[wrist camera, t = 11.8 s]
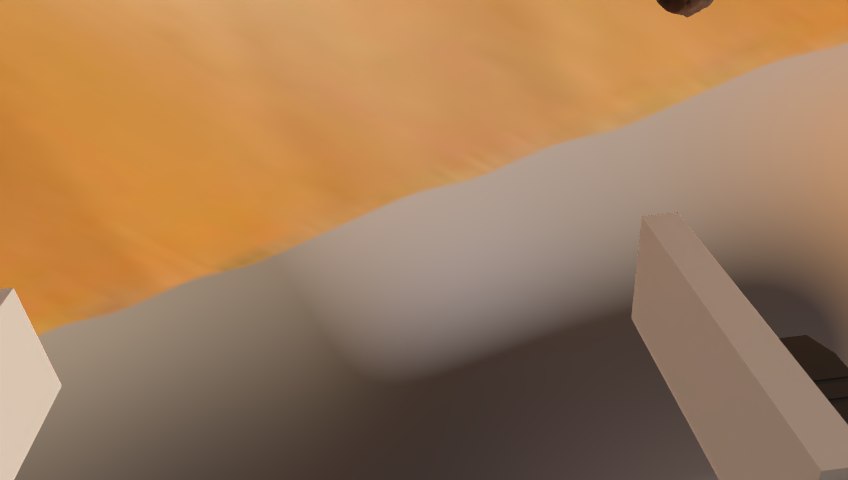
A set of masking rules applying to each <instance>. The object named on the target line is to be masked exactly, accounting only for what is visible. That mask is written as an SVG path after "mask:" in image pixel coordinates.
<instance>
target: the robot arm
mask: <svg viewBox="0 0 848 480" xmlns="http://www.w3.org/2000/svg"><path fill="white" fill-rule="evenodd" d="M632 320H633V322H634V324H635V326H636V327H637V329H638V331H639V333H640V335H641V337H642V339H643V341H644V342H645V344H646V346H647V348H648V350H649V352H650V353H651V355H652V357H653V359H654V361H655V362H656V364H657V366H658V368H659V370H660V372H661V374H662V375H663V377H664V379H665V381H666V383H667V385H668V387H669V388H670V390H671V392H672V394H673V396H674V397H675V399H676V401H677V403H678V405H679V407H680V409H681V410H682V412H683V414H684V416H685V418H686V420H687V422H688V423H689V425H690V427H691V429H692V431H693V432H694V434H695V436H696V438H697V440H698V442H699V444H700V445H701V447H702V449H703V451H704V453H705V455H706V456H707V458H708V460H709V462H710V464H711V466H712V467H713V469H714V471H715V473H716V475H717V477H718V478H719V480H848V368H847V366H846V365H845V364H844V363H843V362H842V361H841V360H840V358H839V357H838V356H837V355H836V354H835V353H834V352H832V351H831V350H829V349H827V348H826V347H824V346H823V345H821V344H819V343H818V342H816V341H815V340H813V339H812V338H810V337H809V336H807V335H803V336H794V337H786V338H778V337H777V336H776V335H775V333H774V332H773V331H772V330H771V328H770V327H769V326H768V325H767V323H766V322H765V321H764V320H763V318H762V317H761V316H760V315H759V313H758V312H757V311H756V310H755V308H754V307H753V306H752V305H751V303H750V302H749V301H748V300H747V298H746V297H745V296H744V295H743V293H742V292H741V291H740V290H739V288H738V287H737V286H736V285H735V284H734V282H733V281H732V280H731V278H730V277H729V276H728V275H727V273H726V272H725V271H724V270H723V268H722V267H721V266H720V265H719V263H718V262H717V261H716V260H715V258H714V257H713V256H712V255H711V254H710V252H709V251H708V250H707V248H706V247H705V246H704V245H703V243H702V242H701V241H700V240H699V238H698V237H697V236H696V235H695V233H694V232H693V231H692V230H691V228H690V227H689V226H688V225H687V223H686V222H685V221H684V220H683V218H682V217H681V216H680V215H679V213H678V212H676V213H666V214H657V215H649V216H642V220H641V230H640V240H639V251H638V260H637V270H636V279H635V289H634V299H633V309H632ZM60 388H61V383H60V382H59V379H58V377H57V375H56V373H55V371H54V369H53V367H52V366H51V363H50V361H49V359H48V358H47V355H46V353H45V351H44V349H43V347H42V345H41V343H40V341H39V339H38V337H37V335H36V333H35V331H34V329H33V327H32V325H31V322H30V320H29V318H28V316H27V314H26V312H25V310H24V308H23V306H22V304H21V302H20V300H19V298H18V296H17V294H16V292H15V290H14V288H8V289H0V480H14V479H15V477H16V475H17V473H18V471H19V469H20V467H21V465H22V463H23V461H24V459H25V457H26V455H27V453H28V451H29V449H30V447H31V445H32V443H33V441H34V439H35V437H36V435H37V433H38V431H39V429H40V427H41V425H42V423H43V422H44V419H45V417H46V415H47V414H48V412H49V410H50V408H51V406H52V403H53V402H54V400H55V398H56V396H57V394H58V392H59V390H60Z"/></svg>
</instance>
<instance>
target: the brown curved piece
mask: <svg viewBox="0 0 848 480" xmlns="http://www.w3.org/2000/svg"><path fill="white" fill-rule="evenodd" d="M657 2H658V3H659V4H660V5H661V6H662V7H663V8H664V9H665V10H666V11H668V12H670V13H674V14H680V15H684V16H685V17H689V16H691V15H693V14H695V13H697V12H699V11H700V10H702V9H703V8H706V7H708V6H709V5H710V4H711V3H712V2H713V0H657Z"/></svg>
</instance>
